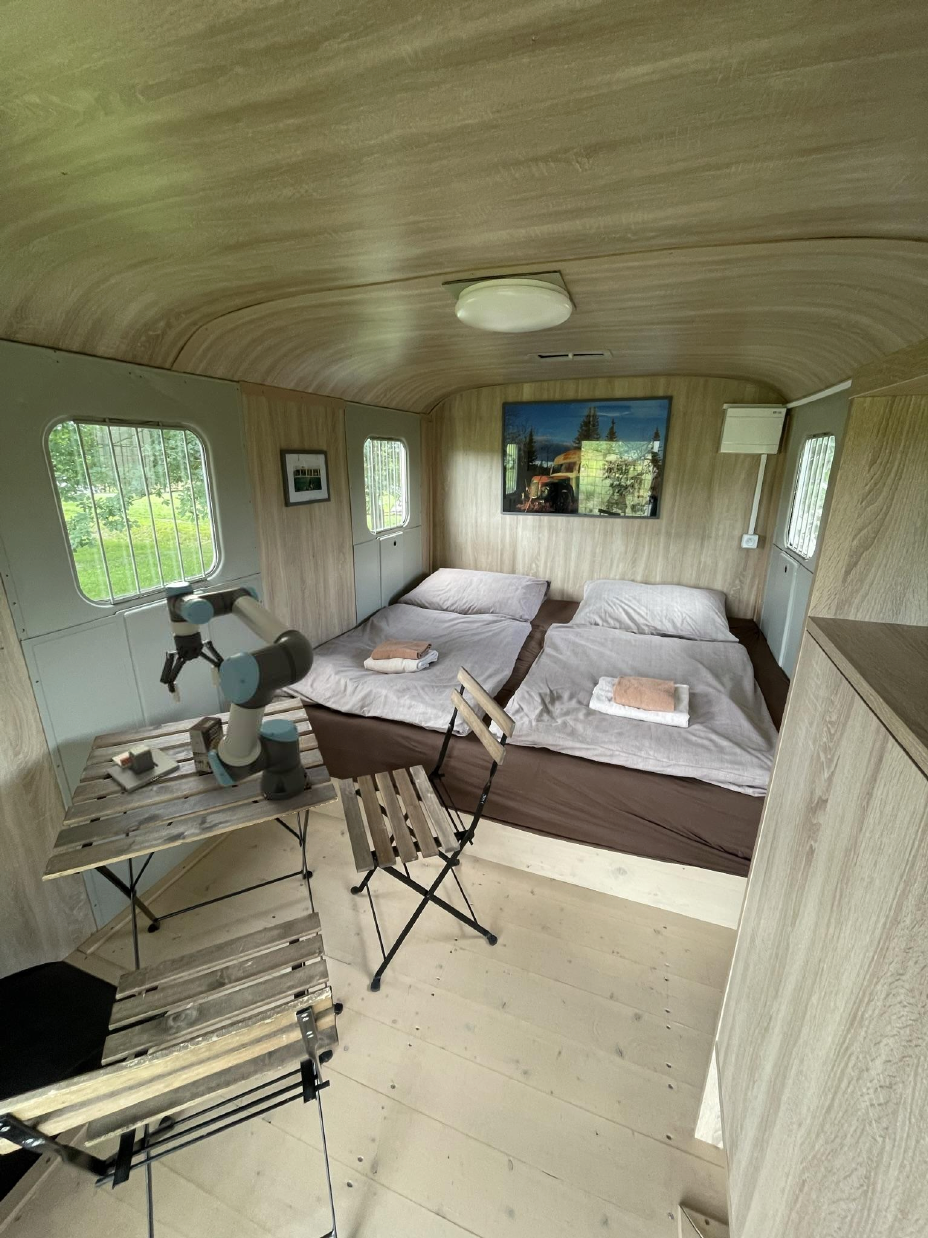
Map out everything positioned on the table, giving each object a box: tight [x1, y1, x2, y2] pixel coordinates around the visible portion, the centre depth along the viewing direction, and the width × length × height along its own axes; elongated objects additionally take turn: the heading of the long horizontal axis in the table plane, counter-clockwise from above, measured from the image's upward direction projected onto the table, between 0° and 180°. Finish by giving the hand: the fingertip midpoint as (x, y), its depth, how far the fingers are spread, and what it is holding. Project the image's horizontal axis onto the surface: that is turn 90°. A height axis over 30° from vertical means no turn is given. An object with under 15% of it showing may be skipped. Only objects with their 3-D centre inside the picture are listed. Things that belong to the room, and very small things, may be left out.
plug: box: [128, 743, 155, 775], centre depth 169 cm, size 5×5×8 cm
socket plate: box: [106, 747, 181, 793], centre depth 171 cm, size 16×16×1 cm
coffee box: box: [188, 715, 225, 773], centre depth 173 cm, size 9×6×16 cm
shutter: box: [112, 746, 151, 768], centre depth 174 cm, size 8×9×3 cm
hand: (197, 692), depth 164 cm, fingers open, 13 cm apart
